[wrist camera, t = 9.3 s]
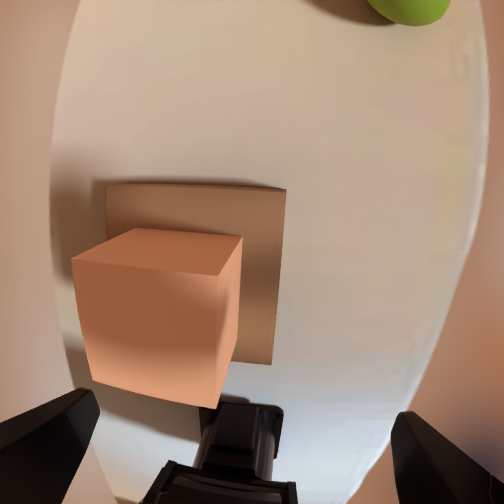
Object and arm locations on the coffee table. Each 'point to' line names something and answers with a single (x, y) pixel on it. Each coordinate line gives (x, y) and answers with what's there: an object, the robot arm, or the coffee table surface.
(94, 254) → the terracotta cube
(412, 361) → the coffee table surface
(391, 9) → the snail figurine
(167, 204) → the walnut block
